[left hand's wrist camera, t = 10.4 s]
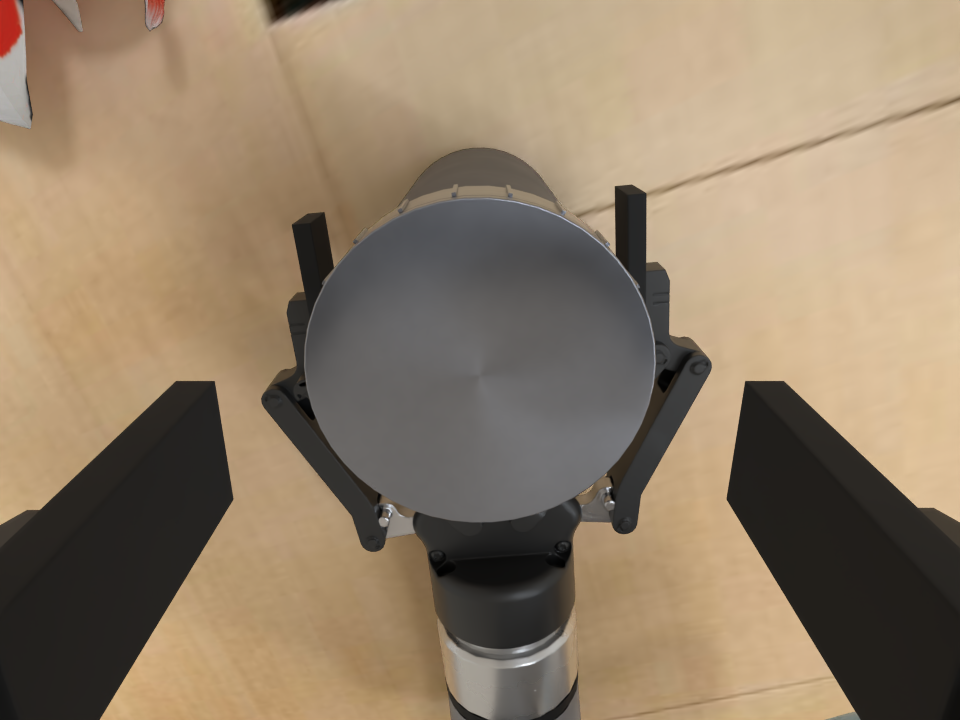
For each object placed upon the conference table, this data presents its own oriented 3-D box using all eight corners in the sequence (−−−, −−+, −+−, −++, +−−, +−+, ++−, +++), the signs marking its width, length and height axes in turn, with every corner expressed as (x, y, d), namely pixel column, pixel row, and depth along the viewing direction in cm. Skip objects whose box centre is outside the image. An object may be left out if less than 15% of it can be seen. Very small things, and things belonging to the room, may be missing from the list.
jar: (527, 321, 37) (572, 534, 19) (385, 277, 36) (291, 458, 18) (580, 176, 34) (690, 269, 16) (426, 125, 33) (365, 162, 15)
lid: (572, 516, 21) (582, 560, 19) (289, 437, 20) (268, 476, 18) (692, 245, 18) (718, 263, 16) (363, 136, 17) (348, 141, 15)
